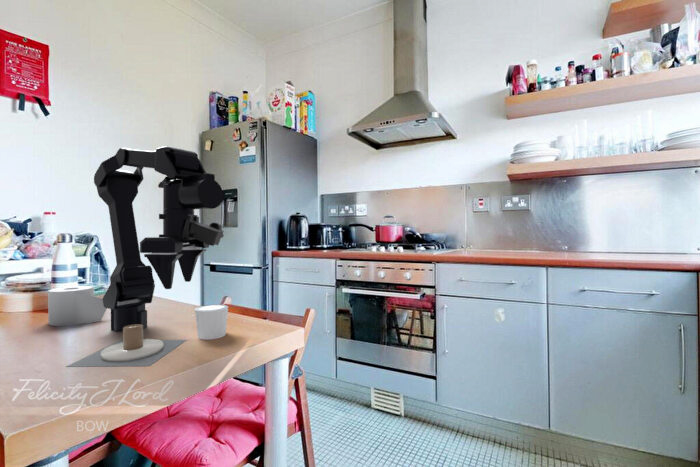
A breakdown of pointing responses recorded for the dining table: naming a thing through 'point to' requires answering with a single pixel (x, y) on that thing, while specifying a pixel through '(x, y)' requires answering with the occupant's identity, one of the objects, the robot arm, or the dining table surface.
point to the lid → (132, 346)
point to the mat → (96, 361)
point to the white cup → (211, 321)
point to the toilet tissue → (74, 306)
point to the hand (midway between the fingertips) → (178, 285)
